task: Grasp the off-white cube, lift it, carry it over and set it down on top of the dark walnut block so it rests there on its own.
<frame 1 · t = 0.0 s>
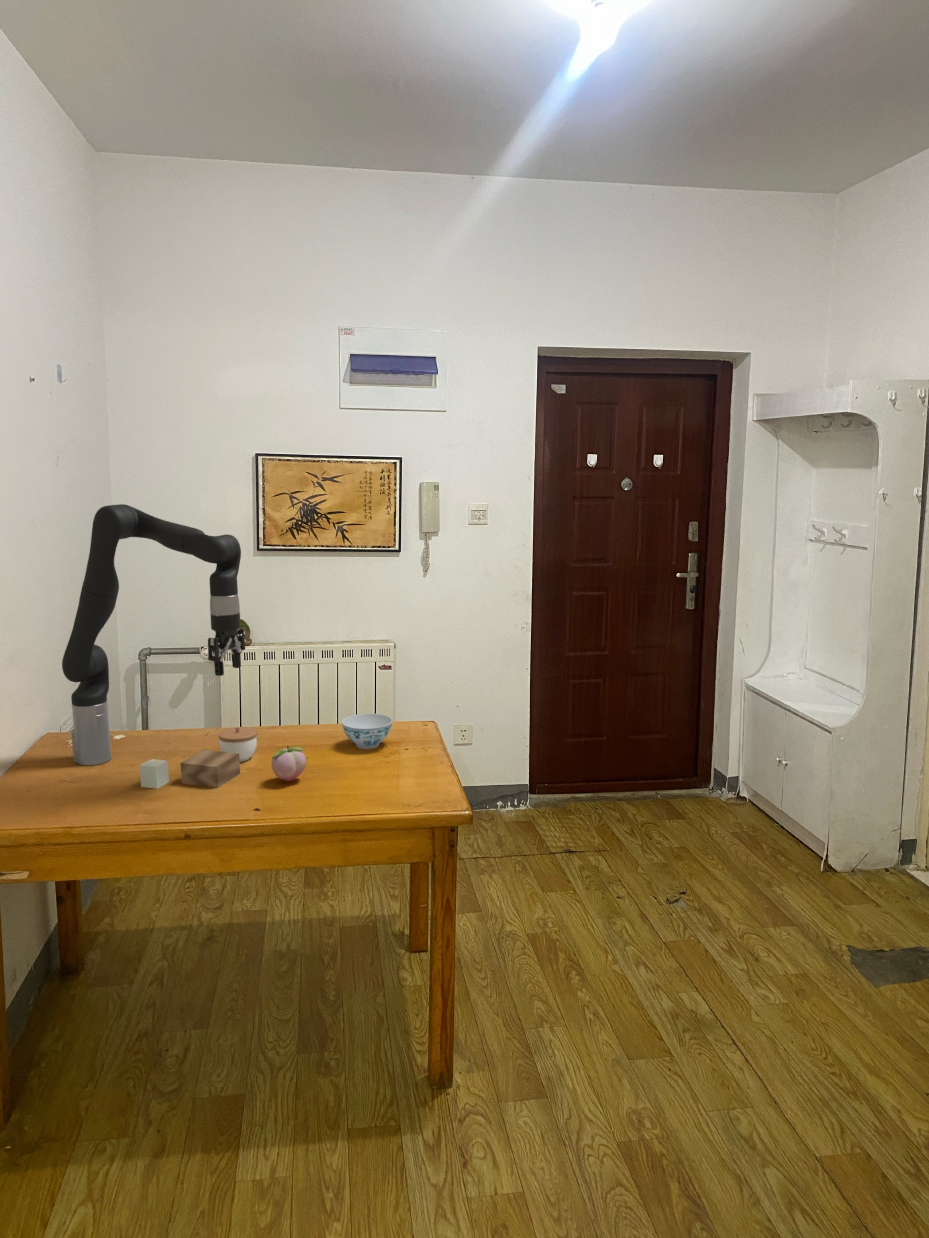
hand: (228, 671, 237), 29 cm above the table, fingers open, 8 cm apart
decorative fruit: (288, 781, 239), on the table
chinaware: (367, 746, 267), on the table
lidded jar: (239, 759, 256), on the table
off-white cube: (155, 784, 237), on the table
walnut block: (211, 779, 241), on the table
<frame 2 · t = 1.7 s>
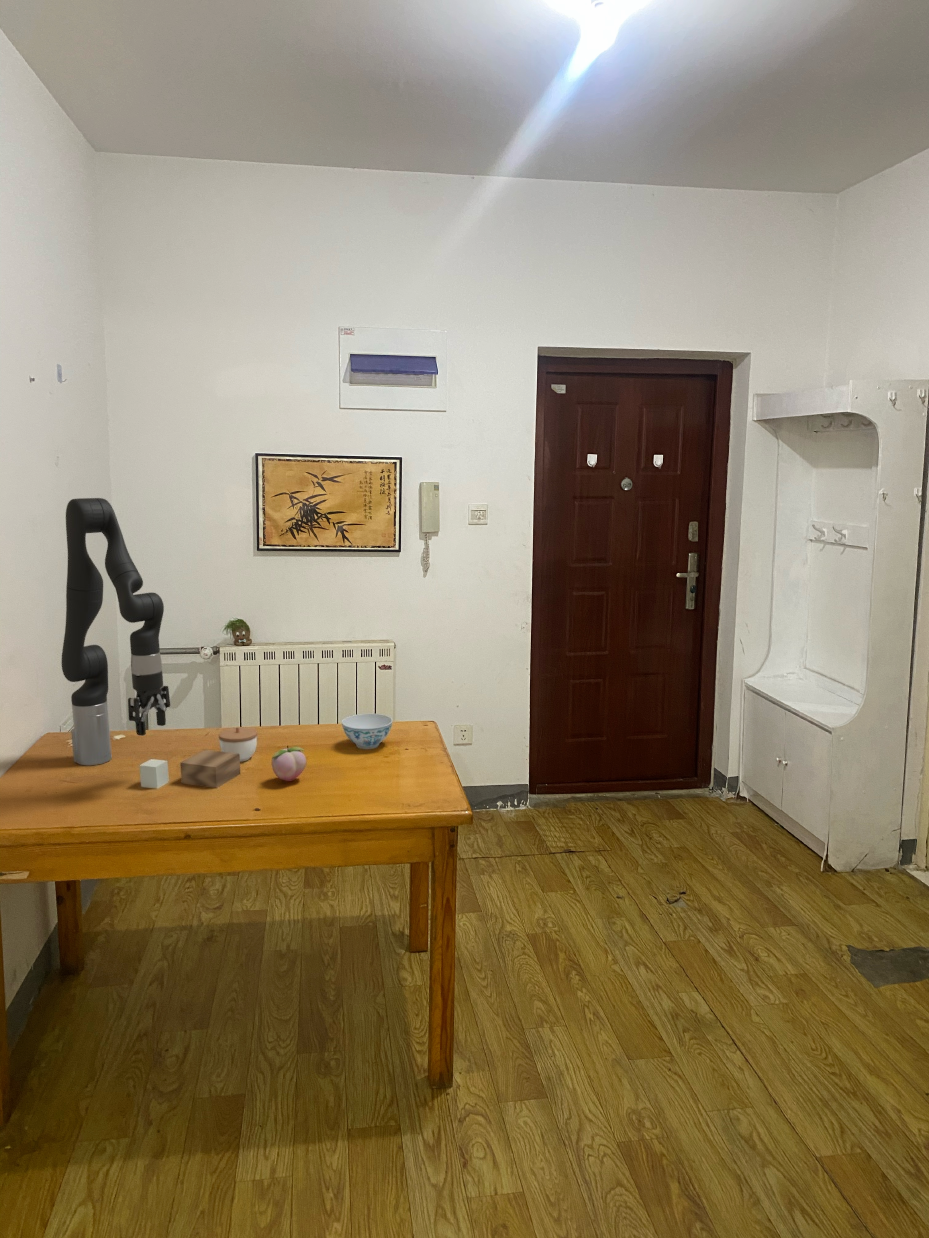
hand: (151, 730, 234), 15 cm above the table, fingers open, 8 cm apart
nothing on the table moved.
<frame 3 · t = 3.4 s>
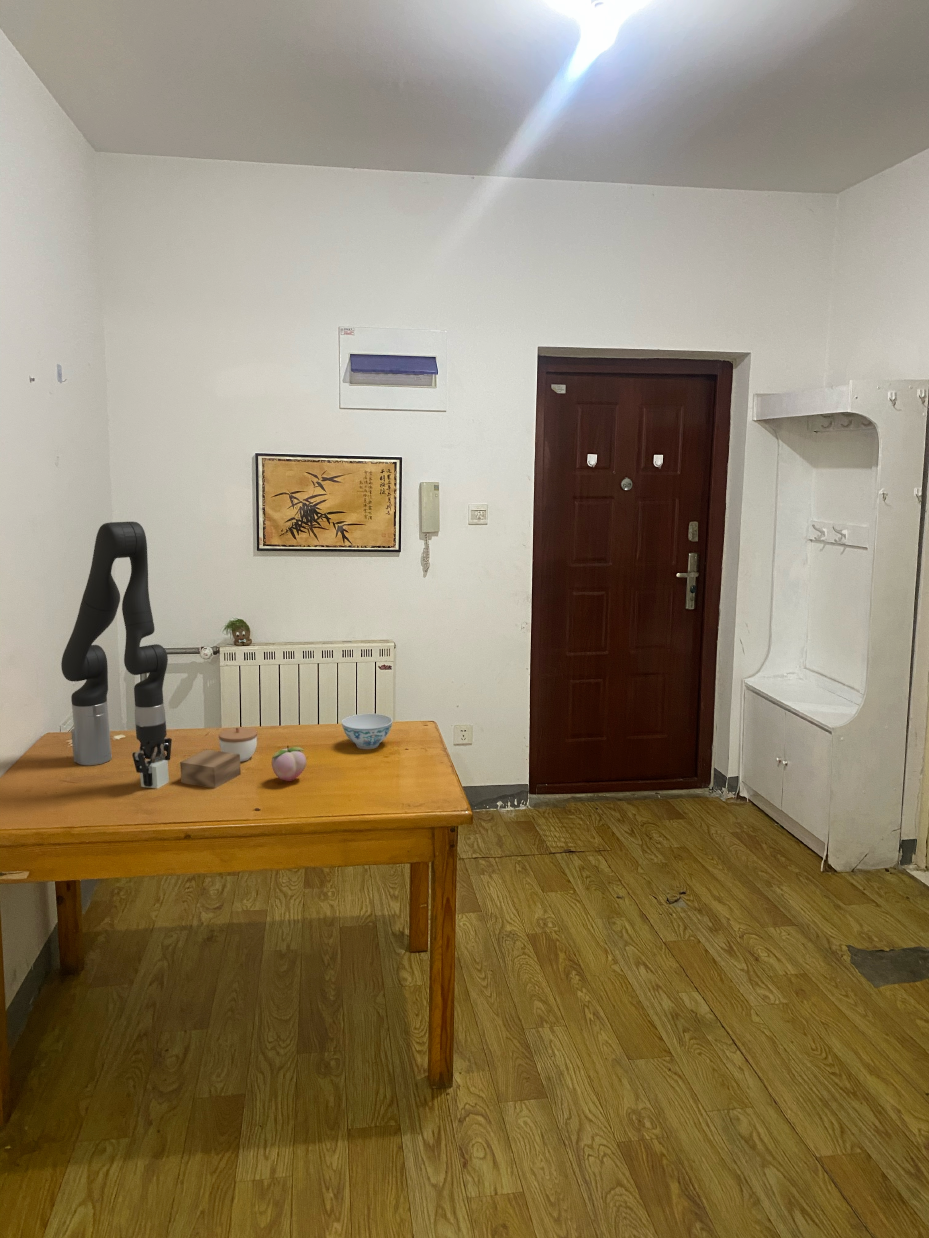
hand: (154, 781, 236), 1 cm above the table, fingers closed on off-white cube, 5 cm apart
off-white cube: (155, 784, 237), on the table, touching gripper
everything else where it was.
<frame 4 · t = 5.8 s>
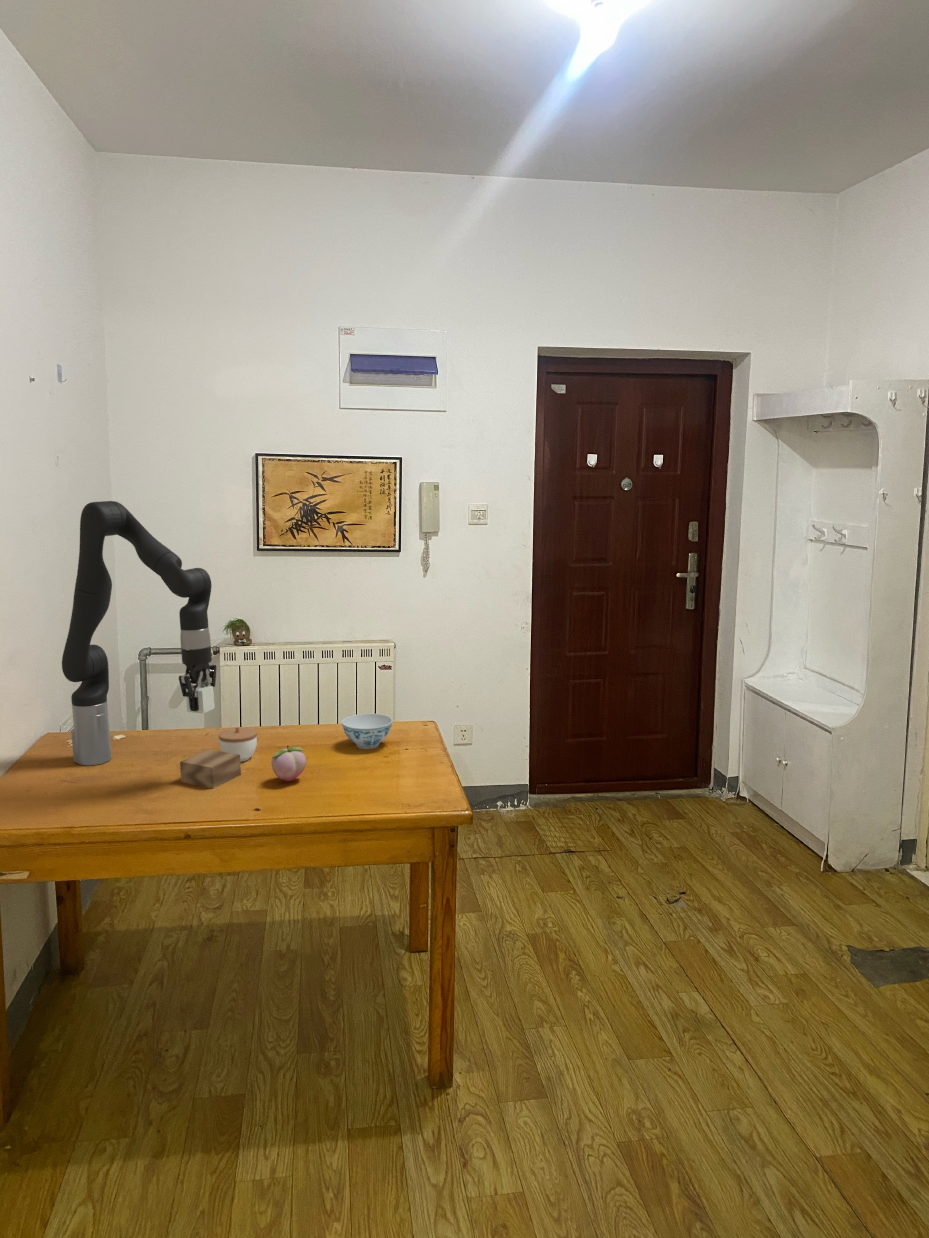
hand: (200, 707, 236), 20 cm above the table, fingers closed on off-white cube, 5 cm apart
off-white cube: (201, 710, 236), point 19 cm above the table, touching gripper
everything else where it was.
when the fingers open (7 cm above the table, at t = 8.0 s): off-white cube stays where it is, resting on walnut block.
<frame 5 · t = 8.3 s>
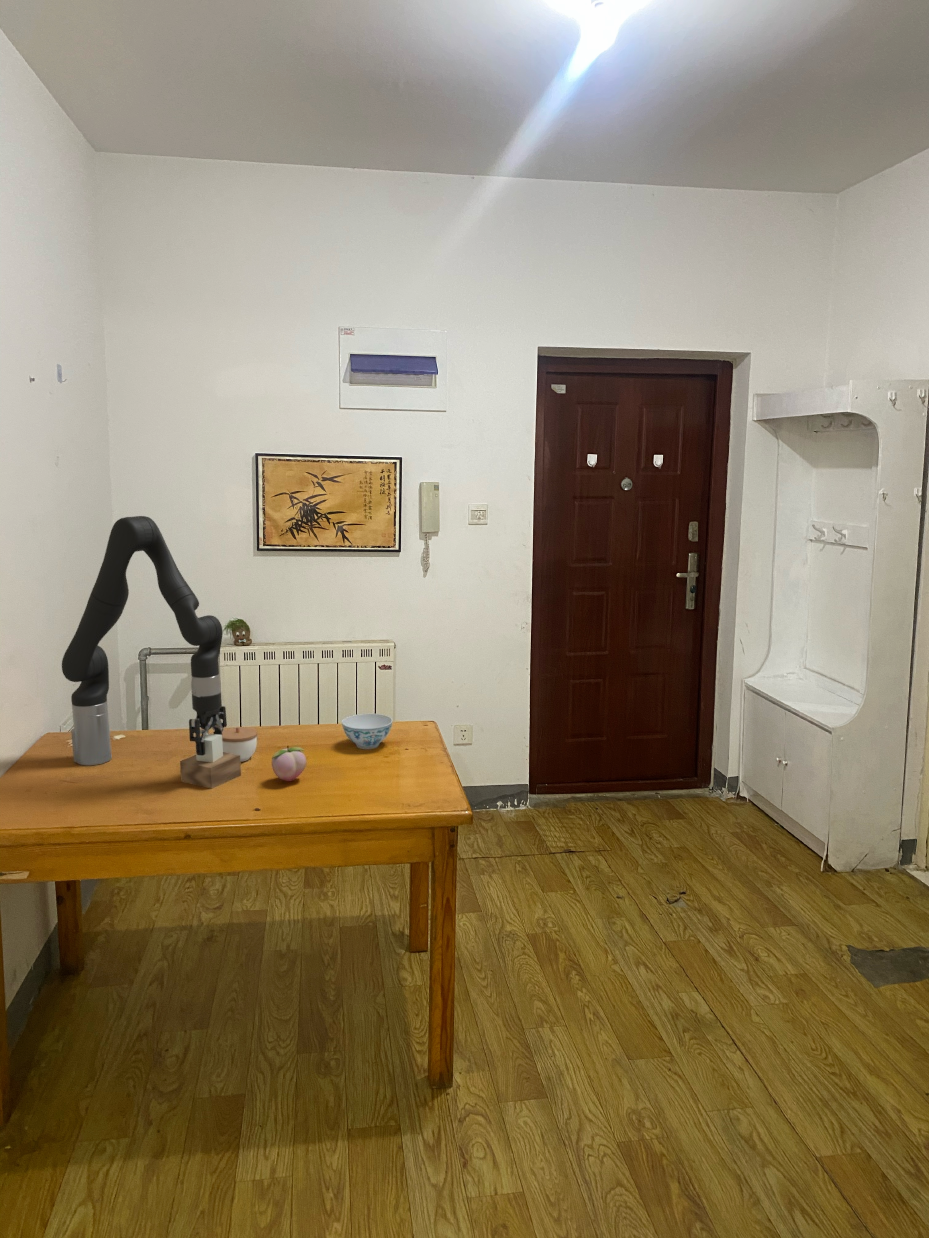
hand: (209, 749, 239), 8 cm above the table, fingers open, 8 cm apart
off-white cube: (209, 758, 240), point 6 cm above the table, touching walnut block
walnut block: (211, 779, 241), on the table, touching off-white cube
everything else where it was.
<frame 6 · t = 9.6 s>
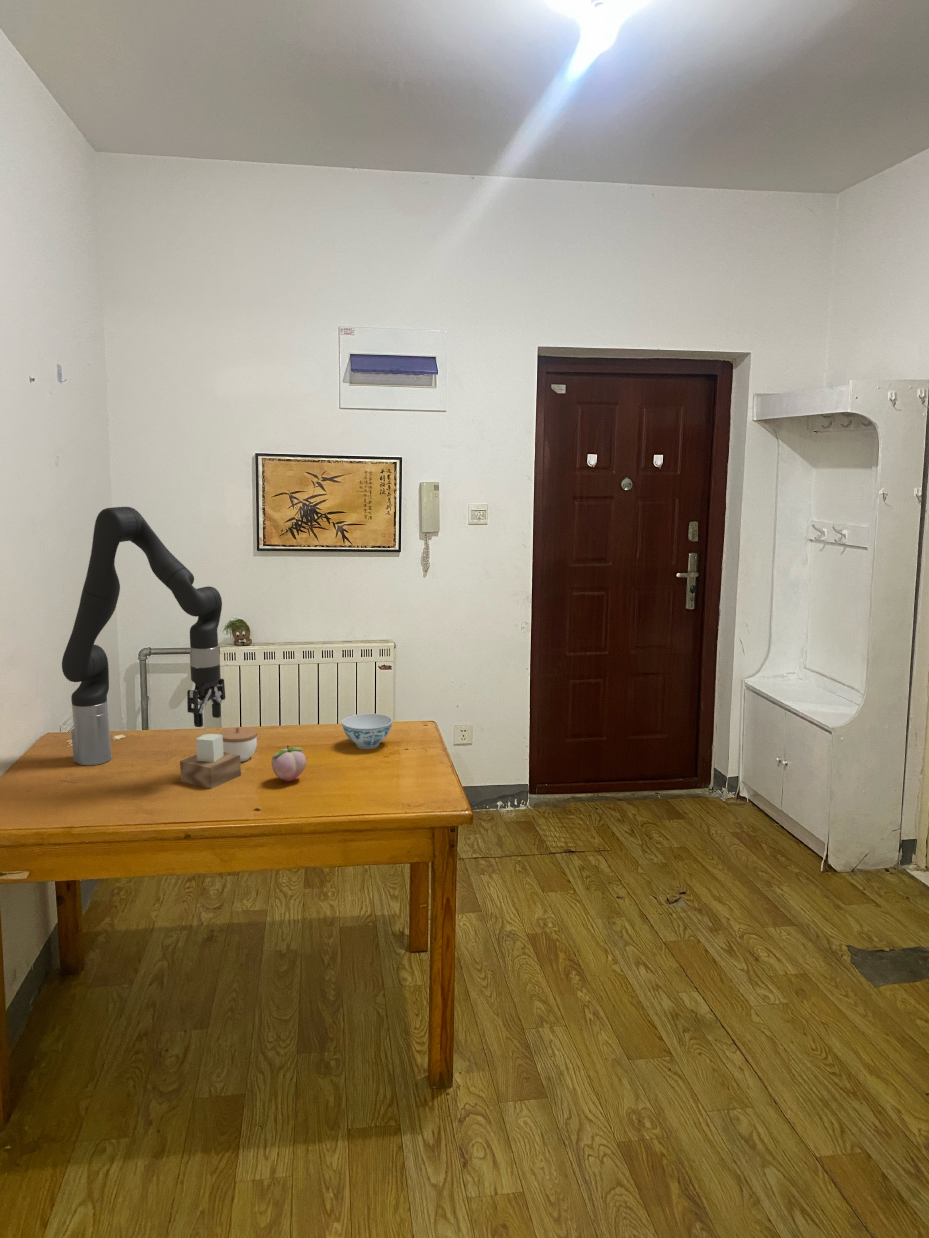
hand: (207, 721, 238), 16 cm above the table, fingers open, 8 cm apart
nothing on the table moved.
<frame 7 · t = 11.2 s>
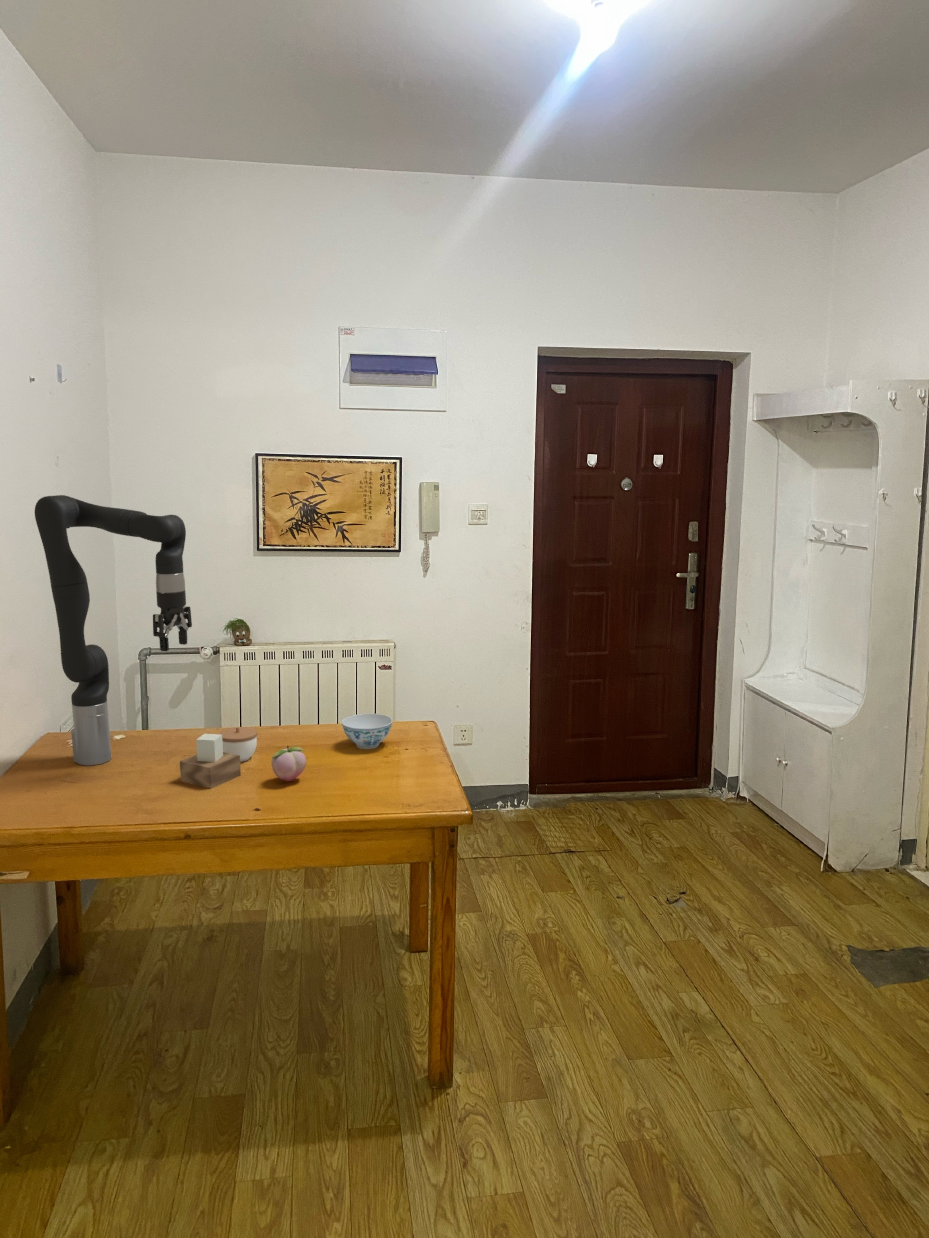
hand: (174, 647, 245), 34 cm above the table, fingers open, 8 cm apart
nothing on the table moved.
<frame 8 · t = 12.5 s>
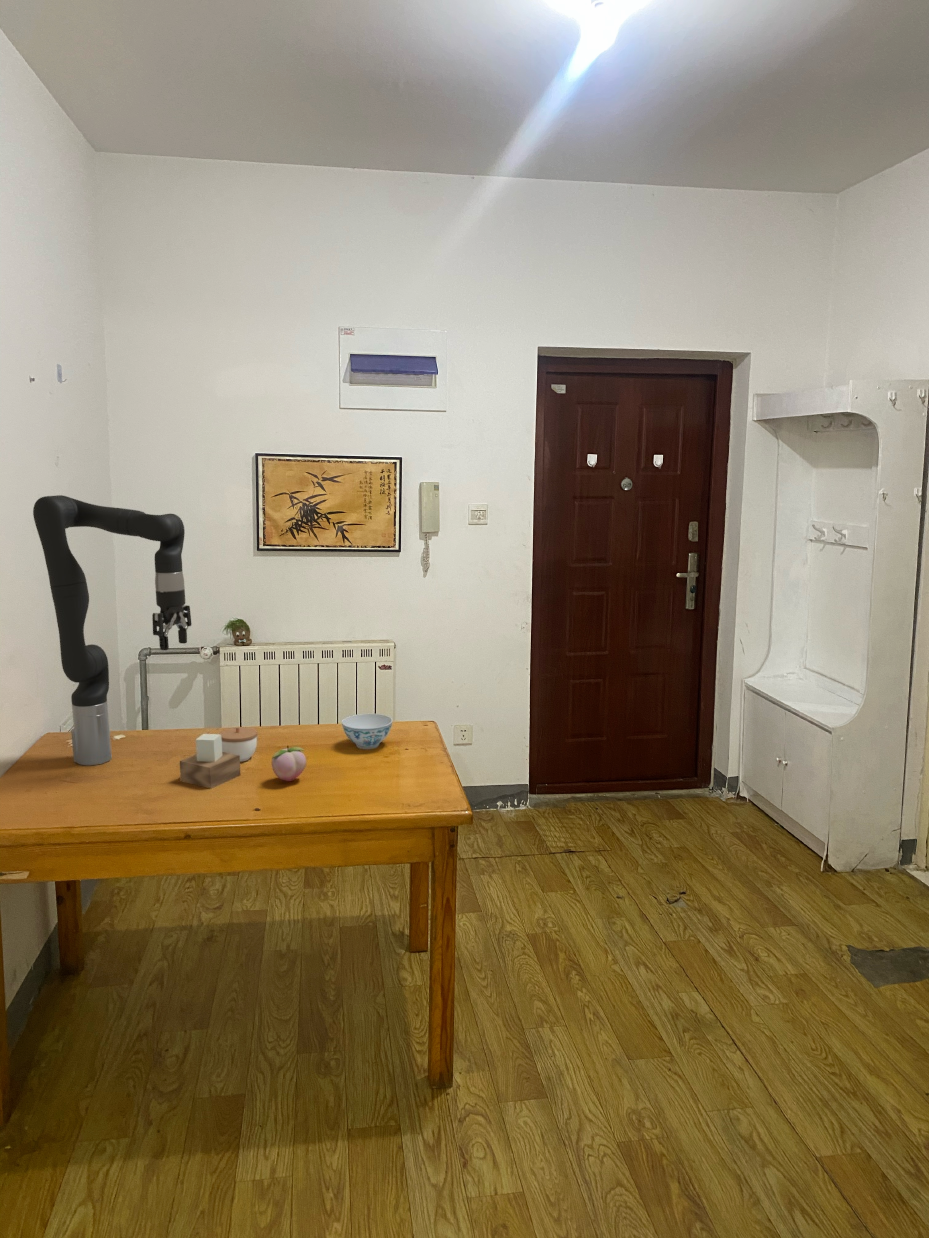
hand: (173, 646, 245), 34 cm above the table, fingers open, 8 cm apart
nothing on the table moved.
at the end: off-white cube inside the target area on the walnut block (0.3 cm from its centre), point 6.0 cm above the walnut block's base; off-white cube tilted 0°; the gripper is holding nothing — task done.
